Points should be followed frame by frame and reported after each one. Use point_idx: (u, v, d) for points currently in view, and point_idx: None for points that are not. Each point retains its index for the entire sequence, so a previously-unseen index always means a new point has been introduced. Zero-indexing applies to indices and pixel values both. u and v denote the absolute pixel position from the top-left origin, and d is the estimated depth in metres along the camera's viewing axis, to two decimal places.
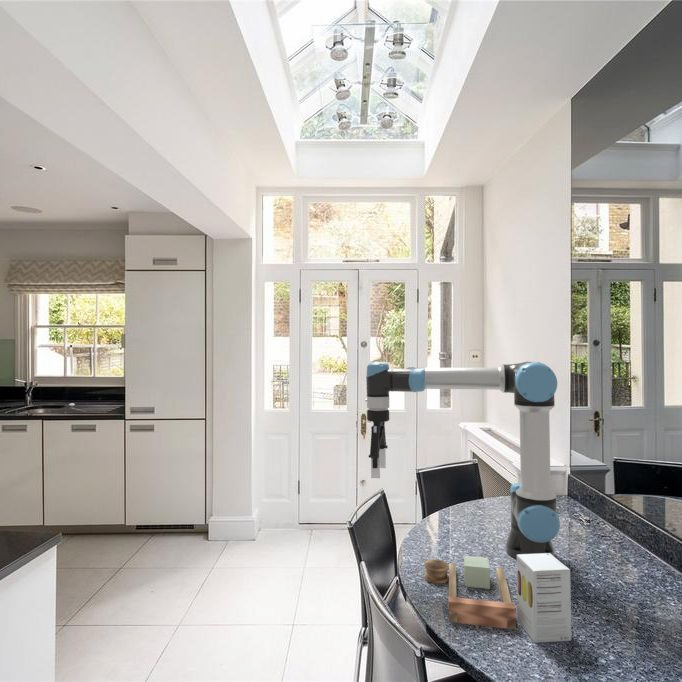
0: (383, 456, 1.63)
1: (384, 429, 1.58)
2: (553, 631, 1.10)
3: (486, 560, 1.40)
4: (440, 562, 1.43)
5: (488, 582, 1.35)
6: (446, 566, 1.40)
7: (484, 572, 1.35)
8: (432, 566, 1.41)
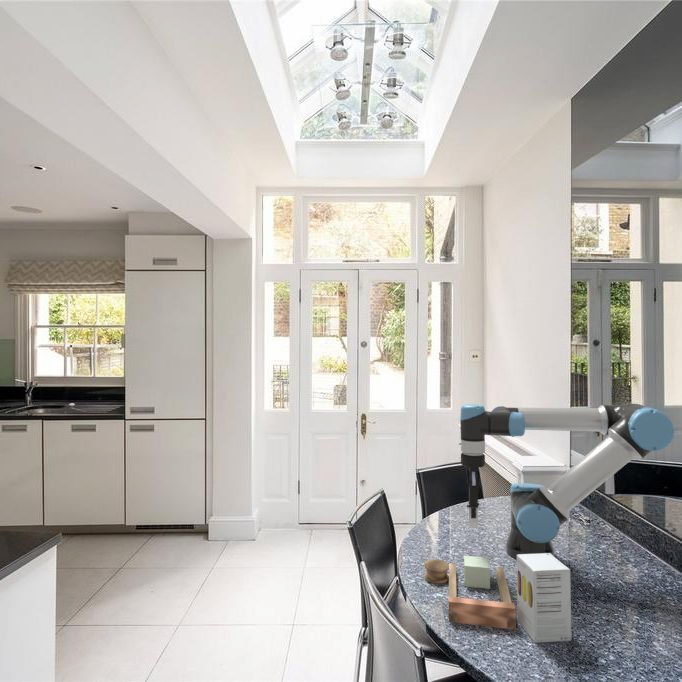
0: None
1: None
2: (553, 631, 1.10)
3: (486, 560, 1.40)
4: (440, 562, 1.43)
5: (488, 582, 1.35)
6: (446, 566, 1.40)
7: (484, 572, 1.35)
8: (432, 566, 1.41)
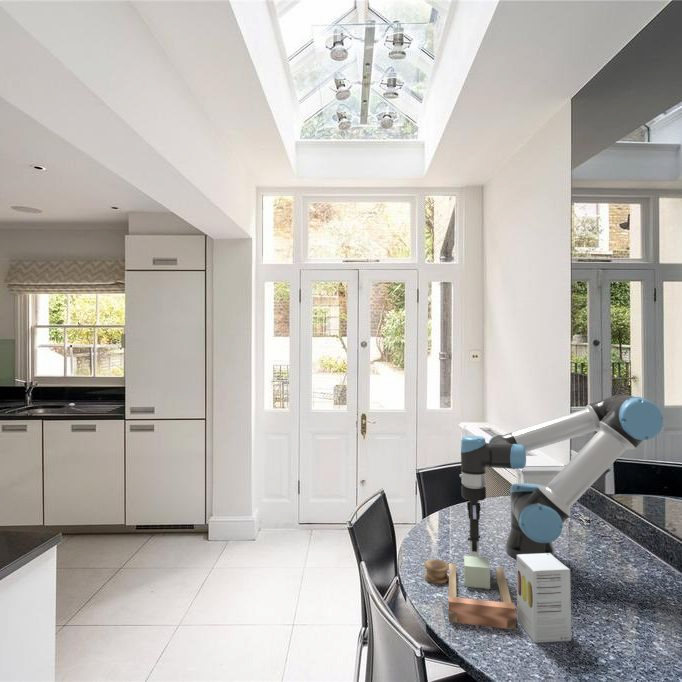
0: None
1: None
2: (553, 631, 1.10)
3: (486, 560, 1.40)
4: (440, 562, 1.43)
5: (488, 582, 1.35)
6: (446, 566, 1.40)
7: (484, 572, 1.35)
8: (432, 566, 1.41)
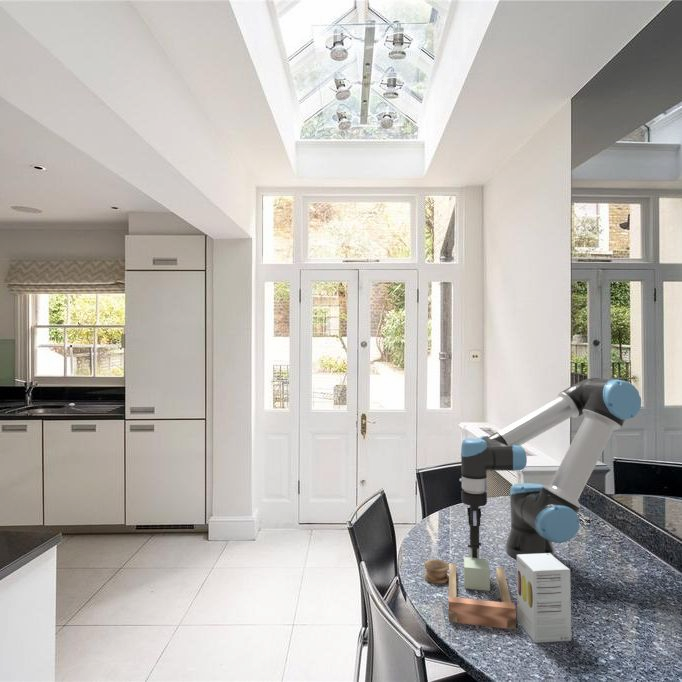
0: None
1: None
2: (553, 631, 1.10)
3: (486, 561, 1.39)
4: (440, 562, 1.43)
5: (488, 584, 1.34)
6: (446, 566, 1.40)
7: (484, 574, 1.34)
8: (432, 566, 1.41)
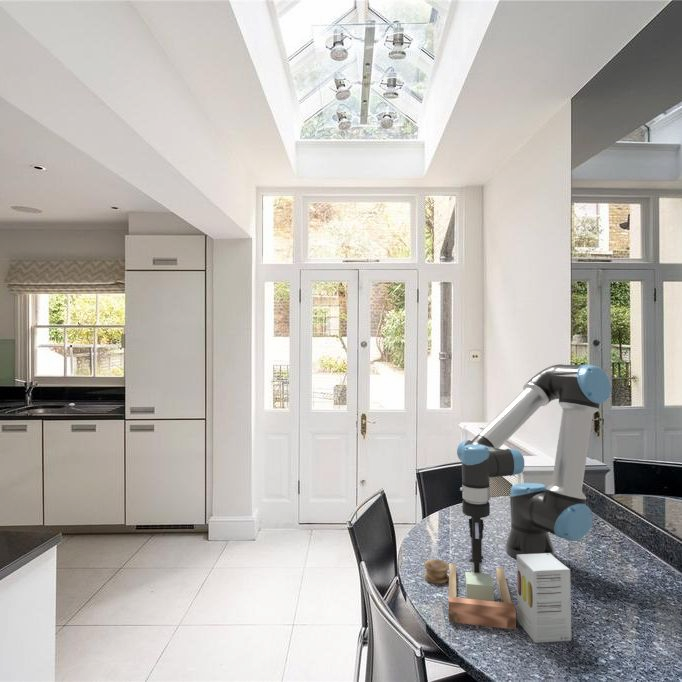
0: None
1: (483, 523, 1.34)
2: (553, 631, 1.10)
3: (489, 577, 1.29)
4: (440, 562, 1.43)
5: None
6: (446, 566, 1.40)
7: (488, 591, 1.24)
8: (432, 566, 1.41)
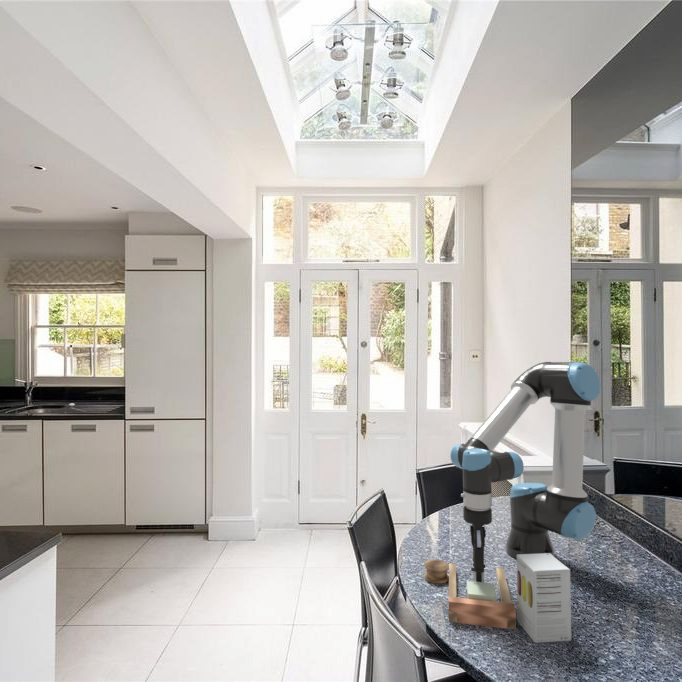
0: None
1: (484, 530, 1.29)
2: (553, 631, 1.10)
3: (492, 586, 1.24)
4: (440, 562, 1.43)
5: None
6: (446, 566, 1.40)
7: None
8: (432, 566, 1.41)
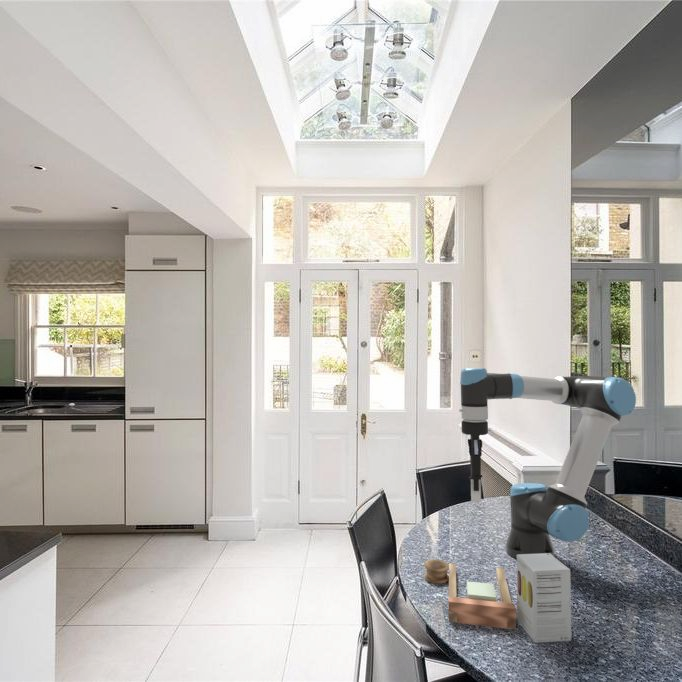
0: None
1: None
2: (553, 631, 1.10)
3: (492, 587, 1.24)
4: (440, 562, 1.43)
5: None
6: (446, 566, 1.40)
7: None
8: (432, 566, 1.41)
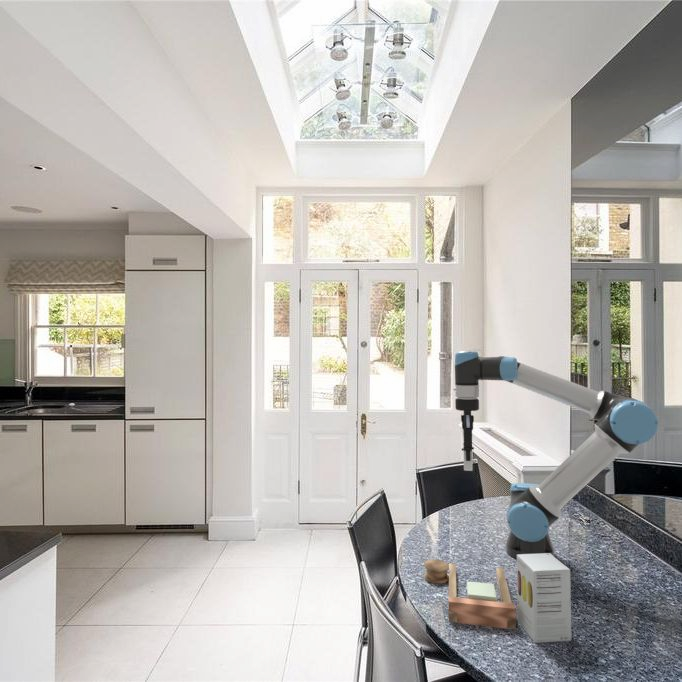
0: None
1: None
2: (553, 631, 1.10)
3: (492, 587, 1.24)
4: (440, 562, 1.43)
5: None
6: (446, 566, 1.40)
7: None
8: (432, 566, 1.41)
